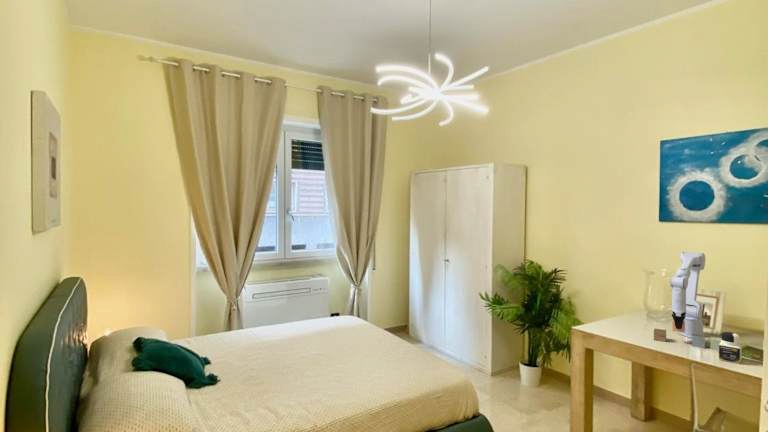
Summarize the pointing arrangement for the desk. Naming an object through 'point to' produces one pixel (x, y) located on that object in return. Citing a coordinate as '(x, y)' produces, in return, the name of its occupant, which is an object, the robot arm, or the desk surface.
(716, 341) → the sage cube
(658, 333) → the walnut cube
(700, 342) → the slate cube
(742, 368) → the desk surface
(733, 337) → the medicine bottle
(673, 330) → the terracotta cube
